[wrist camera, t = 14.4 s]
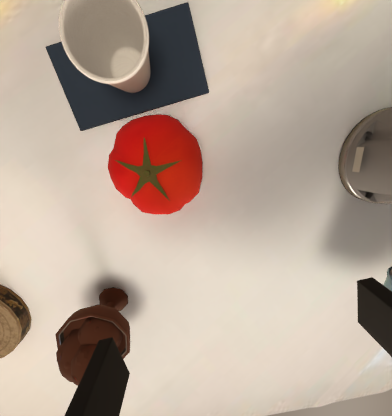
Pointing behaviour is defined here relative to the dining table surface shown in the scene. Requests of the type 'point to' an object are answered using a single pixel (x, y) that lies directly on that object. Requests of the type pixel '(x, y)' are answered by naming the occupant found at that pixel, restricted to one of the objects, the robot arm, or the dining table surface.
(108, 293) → the ice cream bowl
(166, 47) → the placemat
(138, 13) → the dixie cup
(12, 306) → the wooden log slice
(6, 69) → the dining table surface
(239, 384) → the dining table surface
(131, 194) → the tomato
